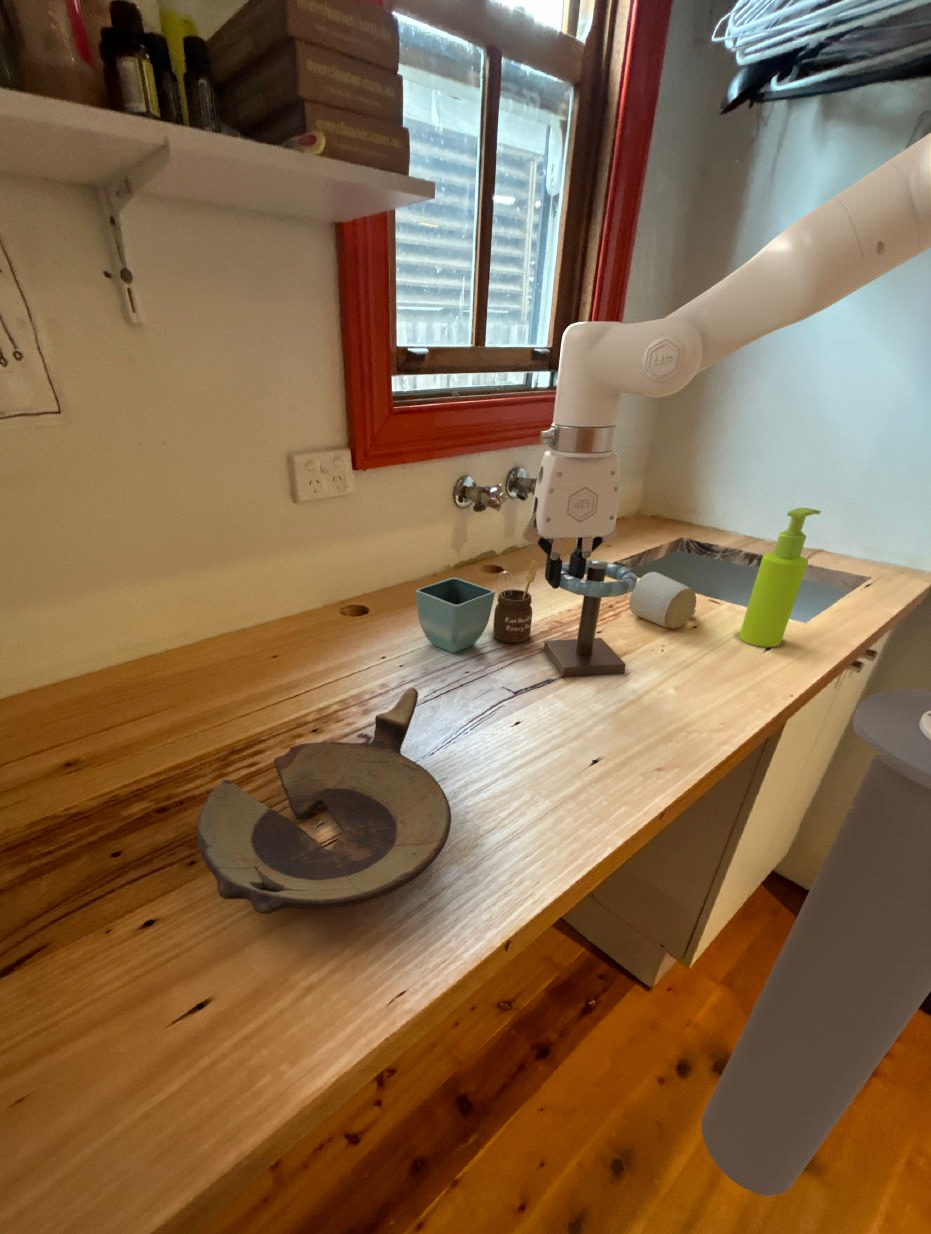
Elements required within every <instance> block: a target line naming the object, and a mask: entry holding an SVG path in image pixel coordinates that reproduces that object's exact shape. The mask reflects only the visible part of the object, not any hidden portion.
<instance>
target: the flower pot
mask: <svg viewBox="0 0 931 1234" xmlns="http://www.w3.org/2000/svg"><path fill="white" fill-rule="evenodd" d="M495 594H496V591H495V590H493V589H490V588H488V587H484V586H481V585H479V584H476V583H473V582H470V581H468V580H464V579H461V578H458V577H450V578H446V579H443V580H441V581H438V582H436V583H435V582H434V583H433V584H429V585H426V586H423V587H420V588H417V589H415V600H416V601H415V602H416V609H417V616H418V621H419V624H420V627H421V630H422V632H423V634H424V635H425V637H426V638H427V640H428V642H429V643H430V644H432V645H434V646H436V647H438V648H440V649H443V650H444V651H447V652H449V653H452V654H456V653H458V652H459V651H462V650H464V649H467V648H469V647H471V646H474V645H475V644H476V643H477V642H478V640H479V639H480V638H481V636H482V635H483V633H484V632H485V630H486V628H487V626H488V623H489V620H490V617H491V613H492V608H493V605H494V604H493V603H494V599H495Z"/></svg>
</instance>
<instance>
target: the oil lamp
mask: <svg viewBox="0 0 931 1234" xmlns="http://www.w3.org/2000/svg"><path fill="white" fill-rule="evenodd" d="M401 695H402V696H401V697H400V698H399V700H398V701H397V703H396V704H395V705H394V706H393V707H392V708H391V709H390V710H388V711H386V712H381V713H378V714H376V715H375V718H374V721H375V727H374V731H373V734H374V735H373V738H372V740H371V741H370V742H365V741H363V742H342V741H321V742H308V743H305V742H304V743H300V744H298V745H293V746H291V747H290V748H289V750H288V751H287V752H286V753H284V754H283V755H278V756H277V757H275V758H274V759H273V764H274V766H275V769H276V770H275V771H276V773H277V775H278V777H279V781H280V782H281V786H282V789H283V790H284V795H285V796H286V797H287V800H288V803H289V808H290V809H291V811H292V814H293V816H294V817H295V820H297V821H298V820H302V819H304V818H306V817H307V816H310V815H311V814H312V813H313V812H315V811H316V810H317V809H318V808H319V805H322V804H323V805H324V806H325V808H326V810H327V812H328V814H330V817H331V818H332V819H333V821H334V822H335V823H336V824H337V825H338V826H339V827H340V829H341V830H342V832H341V833H340V835H339V836H338V838H337V839H336V841H335V844H334V845H333V847H332V848H331V849H326V848H325V847H323V846H322V845H321V844H320V843H319V842H318V840H317V839H314V838H313V837H312V836H311V835H309V833H307V832H306V830H304V829H302V827H300V826H299V825H298V824H296V823H295V822H294V821H292V820H290V819H289V817H286V816H284V815H283V814H282V813H280V812H278V811H276V810H274V809H273V808H271V807H269V806H267V805H266V804H265V803H263V802H260V801H258V800H256V799H255V798H254V797H253V796H252V795H251V794H250V793H248V792H246V791H244V790H243V789H242V788H241V787H240V786H238V784H236V783H235V782H234V781H233V780H230V779H222V780H221V782H220V783H219V784H218V785H217V786H216V787H215V788H213V789H212V790H211V792H210V793H208V795H207V797H206V799H205V801H204V803H203V805H202V807H201V809H200V812H199V814H198V816H197V817H198V818H197V826H196V835H197V838H196V839H197V844H198V848H199V851H200V854H201V857H202V860H203V862H204V863H205V865H206V867H207V869H208V870H209V871H210V872H211V874H212V875H213V876H214V878H215V880H216V882H217V887H216V888H217V894H218V895H219V896H220V897H221V898H222V899H225V900H241V899H243V900H247V901H249V902H250V903H251V905H252V907H253V910H255V912H256V913H258V914H261V915H268V914H272V913H274V912H278V911H280V910H283V909H290V910H291V909H294V910H304V911H310V910H311V911H318V910H320V911H321V910H332V909H333V910H334V909H340V908H341V909H342V908H347V907H351V906H357V905H360V904H361V905H362V904H364V903H368V902H371V901H373V900H377V899H379V898H381V897H384V896H386V895H390V894H391V893H393V892H395V891H397V890H399V889H401V888H403V887H404V886H406V885H408V884H409V883H411V882H412V881H414V880H415V879H417V878H418V877H420V876H421V875H422V874H423V873H424V872H425V871H426V870H428V869H429V867H430V866H431V865H432V864H433V863H434V862H435V860H436V859H437V858H438V856H439V855H440V854H441V852H442V850H443V849H444V847H445V845H446V843H447V840H448V838H449V835H450V832H451V826H452V810H451V806H450V802H449V800H448V797H447V795H446V793H445V790H444V789H442V786H441V785H440V783H439V782H438V781H437V779H436V778H435V777H434V776H433V774H431V773H430V772H429V771H428V770H427V769H425V767H423V766H421V764H419V763H417V762H416V761H414V760H412V759H410V758H409V757H406V756H405V755H403V754H402V752H401V749H402V745H403V743H404V741H405V739H406V736H407V733H408V730H409V728H410V725H411V721H412V719H413V717H414V714H415V710H416V706H417V703H418V699H419V692H418V690H417V688H415V687H410V688H408V689H406V691H404V693H402V694H401ZM324 822H325V820H319V822H318V823H317V824H316V825H315V826H314V828H313V831H315V830H316V828H317V827H318V826H319V825H321V824H322V823H324Z"/></svg>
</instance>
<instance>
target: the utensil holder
mask: <svg viewBox="0 0 931 1234" xmlns="http://www.w3.org/2000/svg"><path fill="white" fill-rule="evenodd" d="M539 563H540V562H539V561H537V560H535V559H532V560H531V564H530V567H529V570H528V572H527V574H526V581H527V583H526V586H525V590H522V589H514V577H513V575H512V574H510V571H507V570H505V571H504V570H503V571H501V572H500V574H499V575H498V576H497V578H498V579H500V578H501V579H502V583H505V581H504V580H505V579H504V578H505V575H502V574H506V575H508V573H509V574H510V576H511V584H512V586H511V588H512V589H505V588H502V591H501V586H502V587H504V584H501V586H500V581H497V583H498V589H499V593H498V596H497V604H496V605H495V608H494V613H493V625H492V626H493V628H492V629H493V630H492V631H493V636H494V638H495V639H497V640H498V641H500V642H504V643H509V644H517V643H523V642H525V641H527V640H529V638H530V635H531V630H532V621H533V607H532V605H531V604H532V594H531V593H529V592H528V590H529V588H530V585H531V583H533V582H534V580H535V577H536V573H537V570H538V567H539ZM506 577H507V578H506V581H508V585H511V584H510V580H509V579H510V577H509V576H506Z"/></svg>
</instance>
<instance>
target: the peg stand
mask: <svg viewBox="0 0 931 1234" xmlns="http://www.w3.org/2000/svg"><path fill="white" fill-rule="evenodd" d="M605 573H606V566H605V565H603V564H597V563H594V564H589V565H588V571H587V575H586V578H585V580H588V581H595V582H605V579H606V576H605ZM601 602H602V597H600V598H598V597H590V596H583V599H582V604H581V605H582V606H581V610H580V611H581V612H580V618H579V625H578V631H577V638H572V639H554V640H553V639H552V640H544V643H543V644H544V645H543V651H544V652H545V653H546V655H547V656H548V658H549V659H550V661H551V662H552V663H553V665H554V666H555V668H556V669H557V671H558V672H559V674H560V675H561V676H562V677H563V678H568V677H569V678H570V677H571V678H572V677H583V676H584V677H586V676H601V675H619V674H625V669H626V662H624V661H623V660H622V658H621V657H620V656H619V655H618V653H616V652H615V651H614V650H613V648H611V647H610V645H609V644H608V643H607V642H606V641H605V640H604V639H603V638H602V637H596V632H597V628H598V627H597V626H598V620H599V615H600V608H601Z"/></svg>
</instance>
